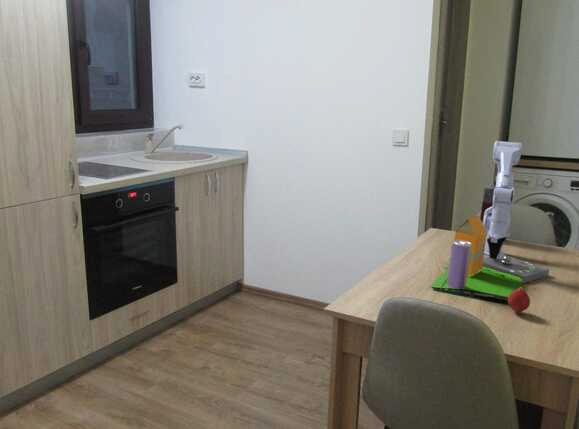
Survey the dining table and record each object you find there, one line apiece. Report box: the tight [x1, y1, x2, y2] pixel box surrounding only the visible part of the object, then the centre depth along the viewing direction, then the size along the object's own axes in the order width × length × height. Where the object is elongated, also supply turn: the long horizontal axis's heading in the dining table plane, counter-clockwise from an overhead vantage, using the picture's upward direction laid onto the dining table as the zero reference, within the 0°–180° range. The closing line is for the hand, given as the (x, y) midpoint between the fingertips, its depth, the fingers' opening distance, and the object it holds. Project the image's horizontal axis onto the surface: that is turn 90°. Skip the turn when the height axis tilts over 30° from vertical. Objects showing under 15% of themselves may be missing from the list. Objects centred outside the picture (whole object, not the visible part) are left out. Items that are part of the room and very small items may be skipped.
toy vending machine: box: [479, 175, 512, 223], centre depth 226 cm, size 9×11×28 cm
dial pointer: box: [491, 255, 531, 268], centre depth 188 cm, size 14×4×4 cm, turn 50°
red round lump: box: [507, 286, 531, 314], centre depth 152 cm, size 6×6×8 cm
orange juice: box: [454, 215, 487, 275], centre depth 184 cm, size 8×9×20 cm
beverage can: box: [446, 239, 472, 291], centre depth 169 cm, size 6×6×15 cm
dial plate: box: [482, 254, 550, 284], centre depth 189 cm, size 19×16×3 cm
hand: (493, 257), depth 191 cm, fingers open, 3 cm apart
